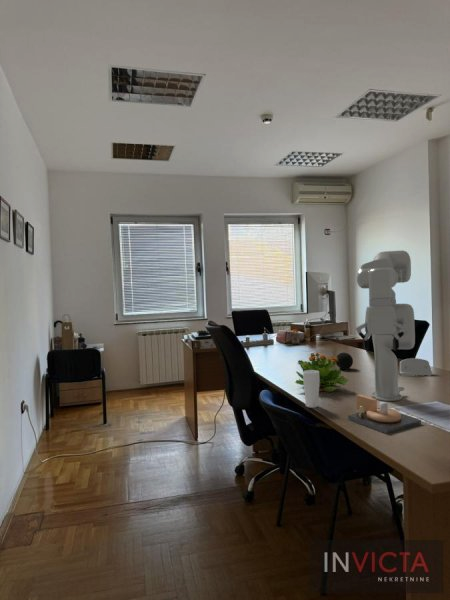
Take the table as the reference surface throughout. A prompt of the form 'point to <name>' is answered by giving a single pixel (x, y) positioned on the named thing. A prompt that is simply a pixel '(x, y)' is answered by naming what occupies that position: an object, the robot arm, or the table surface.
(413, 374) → the white arched block
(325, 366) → the potted flower
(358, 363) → the table surface
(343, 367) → the decorative ball
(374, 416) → the wooden lever dial
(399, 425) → the base plate
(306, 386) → the drinking glass
